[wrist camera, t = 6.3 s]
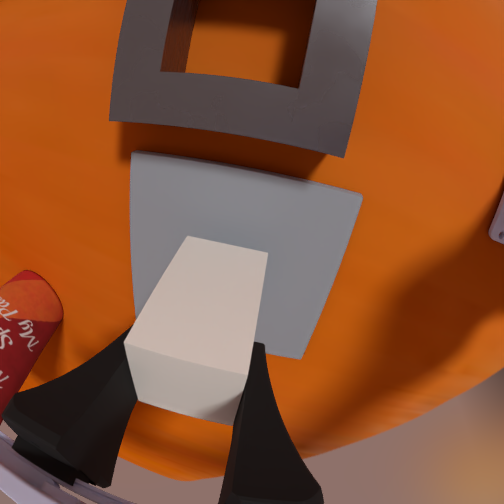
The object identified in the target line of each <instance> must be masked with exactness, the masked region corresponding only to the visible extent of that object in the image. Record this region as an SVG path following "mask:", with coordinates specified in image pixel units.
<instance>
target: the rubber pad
mask: <svg viewBox="0 0 504 504" xmlns="http://www.w3.org/2000/svg"><path fill="white" fill-rule="evenodd" d="M362 200H363V196H362V195H361V193H357V192H353V191H349V190H346V189H342V188H338V187H334V186H330V185H326V184H322V183H318V182H314V181H310V180H305V179H301V178H297V177H292V176H288V175H283V174H279V173H274V172H269V171H264V170H259V169H254V168H249V167H244V166H239V165H233V164H228V163H222V162H216V161H210V160H204V159H198V158H191V157H185V156H178V155H171V154H163V153H156V152H148V151H139V150H136V151H134V152H131V172H130V241H131V264H132V280H133V292H134V304H135V314H136V320H137V318H138V316H139V314H140V313H141V311H142V309H143V307H144V306H145V304H146V302H147V300H148V299H149V297H150V295H151V294H152V292H153V290H154V289H155V287H156V285H157V284H158V282H159V280H160V279H161V277H162V275H163V274H164V272H165V270H166V269H167V267H168V266H169V264H170V262H171V261H172V259H173V258H174V256H175V254H176V253H177V251H178V250H179V248H180V246H181V245H182V243H183V242H184V240H185V238H186V237H187V236H191V237H196V238H201V239H206V240H210V241H215V242H220V243H225V244H229V245H234V246H239V247H243V248H248V249H253V250H258V251H262V252H267V253H268V257H267V264H266V270H265V276H264V282H263V288H262V295H261V301H260V307H259V313H258V319H257V325H256V331H255V337H254V342H259V343H263V344H264V345H265V353H267V354H272V355H278V356H284V357H289V358H295V359H301V358H302V356H303V354H304V351H305V349H306V347H307V345H308V342H309V340H310V338H311V335H312V333H313V331H314V329H315V326H316V324H317V321H318V319H319V317H320V314H321V312H322V309H323V307H324V305H325V302H326V300H327V297H328V295H329V292H330V290H331V287H332V284H333V282H334V279H335V277H336V274H337V271H338V269H339V266H340V263H341V261H342V258H343V255H344V253H345V250H346V247H347V244H348V241H349V239H350V236H351V233H352V230H353V227H354V224H355V221H356V218H357V215H358V212H359V209H360V206H361V203H362Z"/></svg>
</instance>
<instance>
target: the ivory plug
mask: <svg viewBox="0 0 504 504" xmlns="http://www.w3.org/2000/svg"><path fill="white" fill-rule="evenodd" d="M267 257H268V253H267V252H262V251H258V250H253V249H248V248H243V247H239V246H234V245H229V244H225V243H220V242H215V241H210V240H206V239H201V238H196V237H191V236H187V237H186V238H185V240H184V242H183V243H182V245H181V246H180V248H179V250H178V251H177V253H176V254H175V256H174V258H173V259H172V261H171V262H170V264H169V266H168V267H167V269H166V270H165V272H164V274H163V275H162V277H161V279H160V280H159V282H158V284H157V285H156V287H155V289H154V290H153V292H152V294H151V295H150V297H149V299H148V300H147V302H146V304H145V306H144V307H143V309H142V311H141V313H140V314H139V316H138V318H137V320H136V321H135V323H134V325H133V327H132V328H131V330H130V332H129V334H128V335H127V337H126V339H125V341H124V346H125V350H126V355H127V359H128V363H129V367H130V371H131V375H132V379H133V383H134V386H135V390H136V394H137V397H138V400H139V401H141V402H144V403H147V404H150V405H153V406H156V407H160V408H163V409H166V410H170V411H173V412H177V413H180V414H184V415H188V416H192V417H195V418H200V419H204V420H208V421H212V422H217V423H221V424H226V425H231V426H233V423H234V419H235V416H236V413H237V410H238V406H239V403H240V400H241V396H242V393H243V390H244V387H245V383H246V380H247V376H248V372H249V366H250V360H251V354H252V348H253V343H254V337H255V331H256V325H257V319H258V313H259V307H260V301H261V295H262V288H263V282H264V276H265V270H266V264H267Z"/></svg>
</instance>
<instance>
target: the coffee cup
mask: <svg viewBox="0 0 504 504" xmlns="http://www.w3.org/2000/svg"><path fill="white" fill-rule="evenodd" d="M62 318H63V308H62V304H61V302H60V300H59V298H58V296H57V294H56V293H55V291H54V290H53V288H52V287H51V286H50V285H49V284H48V283H47V282H46V281H45V280H44V279H43V278H42V277H41V276H40V275H38V274H37V273H35V272H32V271H29V270H24V271H22V272H20V273H19V274H17V275H16V276H15V277H13V278H12V279H11V280H10V281H8V282H7V283H6V284H5V285H3V286H2V287H1V288H0V425H1V423H2V421H3V418H2V416H1V414H2V413H3V411H4V409H5V408H6V406H7V404H8V403H9V401H10V399H11V398H12V397H13V395H14V394H15V393H18V391H19V390H20V388H21V386H22V385H23V383H24V381H25V380H26V378H27V376H28V374H29V373H30V371H31V369H32V367H33V365H34V364H35V362H36V360H37V359H38V357H39V355H40V354H41V352H42V350H43V349H44V347H45V346H46V344H47V342H48V341H49V339H50V338H51V336H52V335H53V333H54V331H55V330H56V328H57V327H58V325H59V323H60V322H61V320H62Z"/></svg>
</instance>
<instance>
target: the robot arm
mask: <svg viewBox="0 0 504 504" xmlns="http://www.w3.org/2000/svg"><path fill="white" fill-rule="evenodd" d="M500 232H501V234H500ZM499 234H500V235H499ZM489 237H490V238H491V239H493V240H494V241H497V242H499V243H502V244H504V193H503V195H502V198H501V201H500V204H499V206H498V209H497V212H496V214H495V217H494V219H493V221H492V224H491V226H490V229H489ZM133 325H134V324H133ZM133 325H132V326H131V327H130V328H129V329H127V330H126V331H125V332H124V333H123V334H122V335H121V336H119V337H118V338H117V339H116V340H115V341H113V342H112V343H111V344H110V345H109V346H107V347H106V348H105V349H103V350H102V351H101V352H99V353H98V354H97V355H95V356H94V357H92V358H91V359H90V360H88V361H87V362H85V363H83V364H82V365H80V366H79V367H77V368H75V369H74V370H72V371H70V372H68V373H66V374H64V375H63V376H61V377H59V378H56V379H54V380H52V381H50V382H47V383H45V384H42V385H40V386H37V387H35V388H32V389H28V390H25V391H22V392H19V393H15V394H14V395H13V397H12V398H11V399H10V401H9V403H8V404H7V406H6V408H5V409H4V411H3V413H2V414H1V416H2V418H3V420H4V421H5V422H6V423H7V425H8V426H9V427H10V428H11V429H12V430H13V431H14V432H15V433H16V434H17V435H18V436H17V438H16V440H15V441H14V440H12V439H11V438H10V437H8V436H7V435H5V434H4V433H3V432H1V431H0V489H1V490H2V491H3V492H4V493H5V494H7V495H8V496H9V497H10V498H11V499H12V500H14V501H15V502H17V503H18V504H86V503H84V502H82V501H80V500H79V499H77V498H76V497H74V496H72V495H70V494H68V493H66V492H65V491H63V490H61V489H60V487H59V484H60V485H62V486H63V487H65V488H67V489H69V490H71V491H73V492H75V493H77V494H79V495H81V496H83V497H85V498H87V499H89V500H91V501H93V502H95V503H98V504H135V503H133V502H130V501H127V500H124V499H122V498H119V497H117V496H114V495H112V494H110V493H107V492H105V491H103V490H100V489H98V488H96V487H93V486H91V485H89V483H91V484H92V485H95V486H96V485H97V486H100V487H102V488H106V487H109V486H111V482H112V477H113V472H114V468H115V464H116V460H117V456H118V452H119V449H120V445H121V442H122V439H123V435H124V432H125V429H126V426H127V423H128V420H129V417H130V415H131V412H132V410H133V408H134V406H135V404H136V402H137V399H138V397H137V394H136V390H135V386H134V383H133V379H132V375H131V371H130V367H129V363H128V359H127V355H126V350H125V346H124V341H125V339H126V337H127V335H128V334H129V332H130V330H131V328H132V327H133ZM218 504H324V500H323V494H322V490H321V487H320V485H319V484H318V482H317V481H316V480H315V479H314V477H313V476H312V474H311V473H310V471H309V470H308V468H307V467H306V465H305V463H304V462H303V460H302V459H301V457H300V455H299V453H298V451H297V450H296V448H295V446H294V444H293V442H292V440H291V438H290V436H289V434H288V432H287V430H286V427H285V425H284V423H283V420H282V418H281V415H280V412H279V410H278V407H277V404H276V400H275V397H274V394H273V390H272V386H271V382H270V378H269V373H268V368H267V362H266V353H265V345H264V344H263V343H259V342H254V343H253V348H252V354H251V360H250V366H249V372H248V376H247V380H246V383H245V387H244V390H243V393H242V396H241V400H240V403H239V406H238V410H237V413H236V416H235V419H234V424H233V434H232V441H231V447H230V452H229V457H228V461H227V466H226V471H225V475H224V480H223V485H222V489H221V494H220V498H219V502H218Z"/></svg>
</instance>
